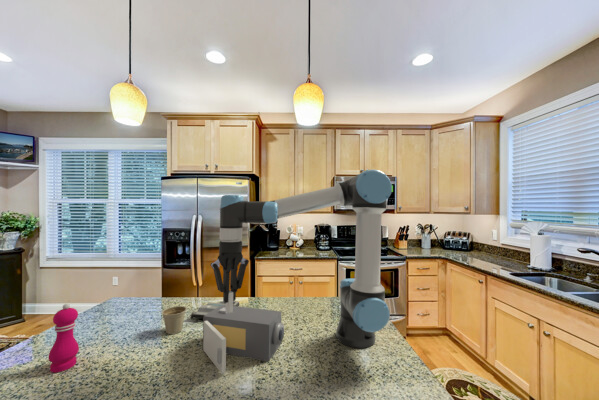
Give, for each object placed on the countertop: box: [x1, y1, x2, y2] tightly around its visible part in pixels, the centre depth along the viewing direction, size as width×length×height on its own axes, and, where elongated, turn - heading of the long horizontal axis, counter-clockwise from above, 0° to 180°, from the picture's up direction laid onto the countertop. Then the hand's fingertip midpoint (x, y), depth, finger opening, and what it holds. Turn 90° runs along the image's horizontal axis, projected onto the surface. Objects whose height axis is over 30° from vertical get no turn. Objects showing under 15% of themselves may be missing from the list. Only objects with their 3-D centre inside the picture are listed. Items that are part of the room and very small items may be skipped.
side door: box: [202, 321, 227, 374], centre depth 83 cm, size 17×2×10 cm, turn 39°
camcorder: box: [190, 300, 240, 320], centre depth 123 cm, size 16×20×5 cm
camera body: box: [202, 305, 285, 362], centre depth 93 cm, size 28×12×13 cm, turn 74°
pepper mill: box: [47, 303, 80, 374], centre depth 82 cm, size 7×7×20 cm
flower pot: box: [161, 305, 188, 335], centre depth 106 cm, size 9×9×9 cm
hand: (229, 311), depth 84 cm, fingers closed
